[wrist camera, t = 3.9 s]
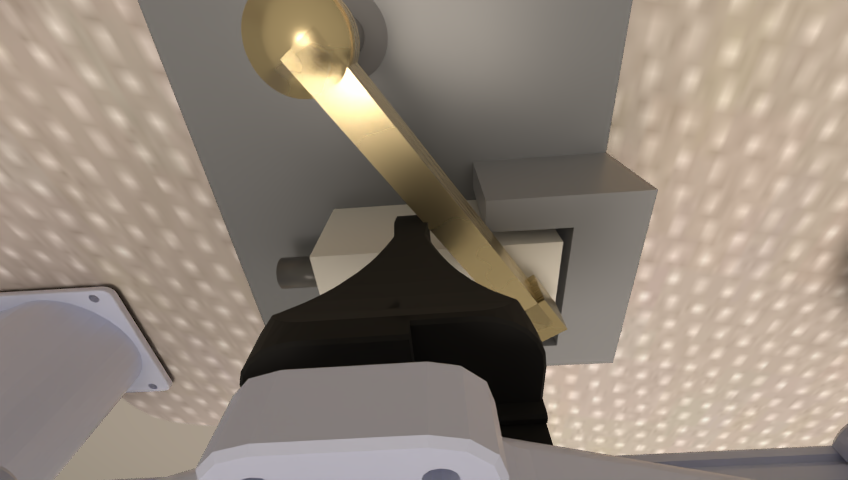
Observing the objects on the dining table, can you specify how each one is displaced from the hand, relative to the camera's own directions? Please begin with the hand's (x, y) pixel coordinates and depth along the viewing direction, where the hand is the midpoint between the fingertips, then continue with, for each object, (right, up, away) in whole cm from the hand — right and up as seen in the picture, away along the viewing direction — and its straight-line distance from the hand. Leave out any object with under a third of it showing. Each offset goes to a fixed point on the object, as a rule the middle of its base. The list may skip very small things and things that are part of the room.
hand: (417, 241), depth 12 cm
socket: (-1, +1, +5) cm, 6 cm away
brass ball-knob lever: (+1, +2, -1) cm, 2 cm away
